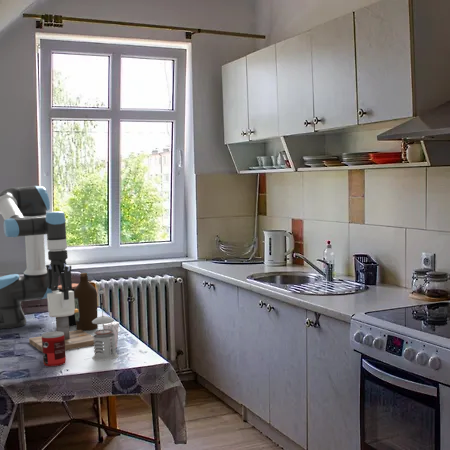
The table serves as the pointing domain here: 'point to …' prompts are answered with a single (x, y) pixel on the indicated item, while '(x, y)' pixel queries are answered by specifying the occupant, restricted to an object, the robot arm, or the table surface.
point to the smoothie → (113, 329)
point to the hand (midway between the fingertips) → (61, 306)
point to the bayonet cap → (60, 305)
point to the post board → (72, 338)
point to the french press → (104, 339)
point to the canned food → (53, 348)
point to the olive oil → (85, 304)
